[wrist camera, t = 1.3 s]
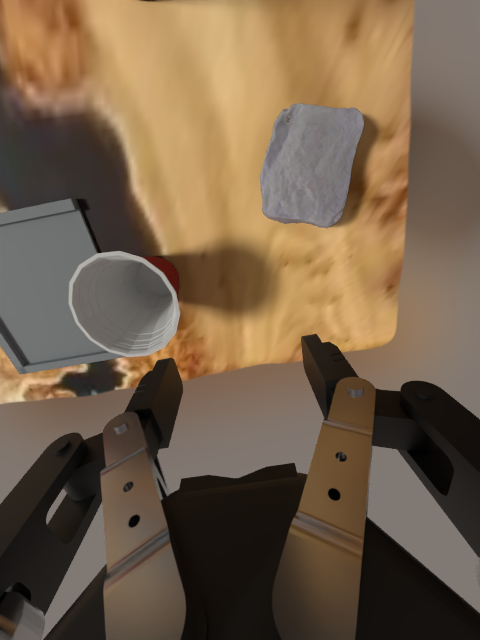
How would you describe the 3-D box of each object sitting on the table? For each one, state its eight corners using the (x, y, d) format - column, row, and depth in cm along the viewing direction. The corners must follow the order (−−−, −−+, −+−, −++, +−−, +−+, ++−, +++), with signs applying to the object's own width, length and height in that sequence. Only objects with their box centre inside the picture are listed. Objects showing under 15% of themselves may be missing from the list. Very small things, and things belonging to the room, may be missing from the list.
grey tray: (76, 198, 31) (70, 198, 30) (138, 350, 40) (135, 354, 39) (-68, 228, 32) (-79, 229, 31) (25, 369, 41) (19, 374, 40)
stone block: (258, 221, 34) (335, 228, 33) (254, 221, 30) (342, 230, 29) (270, 112, 30) (360, 116, 28) (267, 94, 25) (372, 97, 24)
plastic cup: (154, 216, 32) (113, 225, 21) (212, 280, 36) (203, 315, 25) (99, 271, 35) (39, 304, 24) (159, 325, 38) (129, 375, 28)
